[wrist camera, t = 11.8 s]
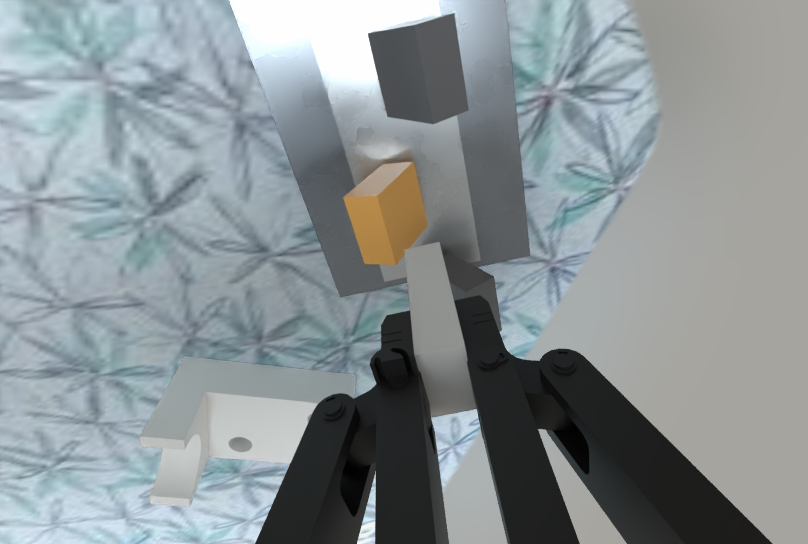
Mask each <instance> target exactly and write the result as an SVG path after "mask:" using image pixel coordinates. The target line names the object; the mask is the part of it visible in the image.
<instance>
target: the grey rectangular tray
mask: <svg viewBox="0 0 808 544" xmlns="http://www.w3.org/2000/svg"><path fill="white" fill-rule="evenodd" d="M229 1H230V4H231V7H232V9H233V12H234V15H235V17H236V20H237V23H238V25H239V28H240V31H241V33H242V36H243V39H244V41H245V44H246V47H247V49H248V52H249V55H250V57H251V60H252V63H253V65H254V68H255V71H256V73H257V76H258V79H259V81H260V84H261V87H262V89H263V92H264V95H265V97H266V100H267V103H268V105H269V108H270V111H271V113H272V116H273V119H274V121H275V124H276V127H277V129H278V132H279V135H280V137H281V140H282V143H283V145H284V148H285V151H286V153H287V156H288V159H289V161H290V164H291V167H292V169H293V172H294V175H295V177H296V180H297V183H298V185H299V188H300V191H301V194H302V196H303V199H304V202H305V204H306V207H307V210H308V212H309V215H310V218H311V220H312V223H313V226H314V228H315V231H316V234H317V236H318V239H319V242H320V244H321V247H322V250H323V252H324V255H325V258H326V260H327V263H328V266H329V268H330V271H331V274H332V276H333V279H334V282H335V284H336V287H337V290H338V292H339V295H340V297H344V296H349V295H353V294H358V293H362V292H367V291H371V290H376V289H380V288H385V287H389V286H394V285H398V284H403V283H407V272H406V261H405V255H404V256H403V257H402V259H401V260H400V261H399V262H398V264H397V265H380V264H365V263H364V260H363V257H362V254H361V251H360V248H359V245H358V242H357V239H356V236H355V233H354V229H353V226H352V223H351V220H350V217H349V214H348V211H347V208H346V205H345V202H344V199H343V197H344V196H345V195H347V194H348V193H349V192H350V191H351V190H352V189H354V188H355V187H356V186H357V185H358V184H360V183H361V182H362V181H363V180H364V179H366V178H367V177H368V176H369V175H370V174H372V173H373V172H374V171H375V170H376V169H377V168H379V167H380V166H381V165H382V164H389V163H402V162H414V165H415V170H416V174H417V179H418V183H419V188H420V192H421V196H422V201H423V205H424V210H425V214H426V219H427V223H428V226H427V227H426V228H425V230H424V231H423V232H422V233H421V235H420V236H419V237H418V238H417V240H416V241H415V242H414V243H413V245H412V246H411V247H410V248H414V247H418V246H423V245H427V244H432V243H436V242H440V246H441V250H442V254H443V255H444V254H446V253H448V252H450V253H452V254H453V255H455V256H457V257H459V258H461V259H463V260H464V261H466V262H468V263H470V264H472V265H473V266H475V267H480V266H485V265H489V264H494V263H498V262H503V261H507V260H512V259H517V258H521V257H526V256H530V249H529V238H528V228H527V218H526V207H525V197H524V187H523V176H522V166H521V156H520V145H519V135H518V125H517V114H516V104H515V94H514V83H513V73H512V63H511V52H510V42H509V32H508V21H507V11H506V1H505V0H229ZM452 13H454V15H455V21H456V28H457V35H458V41H459V48H460V55H461V61H462V68H463V75H464V81H465V88H466V95H467V101H468V108H469V111H466V112H464V113H461V114H459V115H456V116H454V117H451V118H448V119H446V120H443V121H441V122H438V123H436V124H428V123H422V122H416V121H409V120H403V119H397V118H391V117H387V113H386V109H385V105H384V101H383V97H382V93H381V89H380V84H379V80H378V76H377V72H376V68H375V64H374V60H373V56H372V52H371V48H370V43H369V39H368V35H367V33H370V32H373V31H377V30H380V29H383V28H387V27H390V26H394V25H397V24H400V23H405V22H410V21H415V20H420V19H426V18H431V17H436V16H441V15H447V14H452Z"/></svg>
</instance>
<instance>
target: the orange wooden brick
mask: <svg viewBox="0 0 808 544" xmlns="http://www.w3.org/2000/svg"><path fill="white" fill-rule="evenodd" d="M343 199H344V202H345V205H346V208H347V211H348V214H349V217H350V220H351V223H352V226H353V229H354V233H355V236H356V239H357V242H358V245H359V248H360V251H361V254H362V257H363V260H364V263H365V264H380V265H397V264H398V262H399V261H400V260H401V259H402V257H403V256H404V255H405V251H404V250H405V249H409V248H410V247H411V246H412V245H413V243H414V242H415V241H416V240H417V238H418V237H419V236H420V235H421V233H422V232H423V231H424V230H425V228H426V227H427V226H428V223H427V219H426V214H425V210H424V205H423V201H422V196H421V192H420V188H419V183H418V179H417V174H416V170H415V165H414V162H402V163H389V164H382V165H381V166H380V167H379V168H377V169H376V170H375V171H374V172H373V173H372V174H370V175H369V176H368V177H367V178H366V179H364V180H363V181H362V182H361V183H360V184H358V185H357V186H356V187H355V188H354V189H352V190H351V191H350V192H349V193H348V194H347V195H345V196H344V197H343Z"/></svg>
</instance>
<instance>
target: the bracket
mask: <svg viewBox="0 0 808 544" xmlns="http://www.w3.org/2000/svg"><path fill="white" fill-rule="evenodd" d="M355 384H356V375H352V374H343V373H334V372H325V371H316V370H306V369H297V368H288V367H279V366H270V365H261V364H251V363H242V362H233V361H224V360H215V359H206V358H196V357H187V356H185V357H184V359H183V360H182V362H181V364H180V366H179V367H178V369H177V371H176V373H175V375H174V376H173V378H172V380H171V382H170V383H169V385H168V387H167V389H166V391H165V392H164V394H163V396H162V398H161V399H160V401H159V403H158V405H157V407H156V408H155V410H154V412H153V414H152V415H151V417H150V419H149V421H148V423H147V424H146V426H145V428H144V430H143V431H142V433H141V435H140V441H141V446H142V447H154V448H163V449H162V457H161V463H160V467H159V471H158V475H157V478H156V481H155V484H154V487H153V489H152V491H151V494H150V503H151V504H155V505H171V506H186V507H190V505H191V503H192V500H193V498H194V495H195V492H196V490H197V487H198V484H199V482H200V479H201V477H202V474H203V471H204V469H205V466H206V464H207V461H208V458H209V457H216V458H229V459H241V460H254V461H266V462H279V463H291V461H292V459H293V456H294V454H295V452H296V450H297V447H298V445H299V443H300V440H301V438H302V436H303V434H304V431H305V429H306V427H307V425H308V422H309V420H310V418H311V415H312V413H313V411H314V409H315V408H316V406H317V405H318V403H319V402H321V401H322V400H323V399H324V398H326V397H328V396H330V395H332V394H338V393H343V394H348V395H349V396H351V397H352V398H353V399H354V398H355Z"/></svg>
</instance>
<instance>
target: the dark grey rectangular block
mask: <svg viewBox="0 0 808 544" xmlns="http://www.w3.org/2000/svg"><path fill="white" fill-rule="evenodd" d="M367 35H368V39H369V43H370V48H371V52H372V56H373V60H374V64H375V68H376V72H377V76H378V80H379V84H380V89H381V93H382V97H383V101H384V105H385V109H386V113H387V117H391V118H397V119H403V120H409V121H416V122H422V123H428V124H436V123H438V122H441V121H443V120H446V119H448V118H451V117H454V116H456V115H459V114H461V113H464V112H466V111H469V108H468V101H467V95H466V88H465V81H464V75H463V68H462V61H461V55H460V48H459V41H458V35H457V28H456V21H455V15H454V13H452V14H447V15H441V16H436V17H431V18H426V19H420V20H415V21H410V22H405V23H400V24H397V25H394V26H390V27H387V28H383V29H380V30H377V31H373V32H370V33H367Z"/></svg>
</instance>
